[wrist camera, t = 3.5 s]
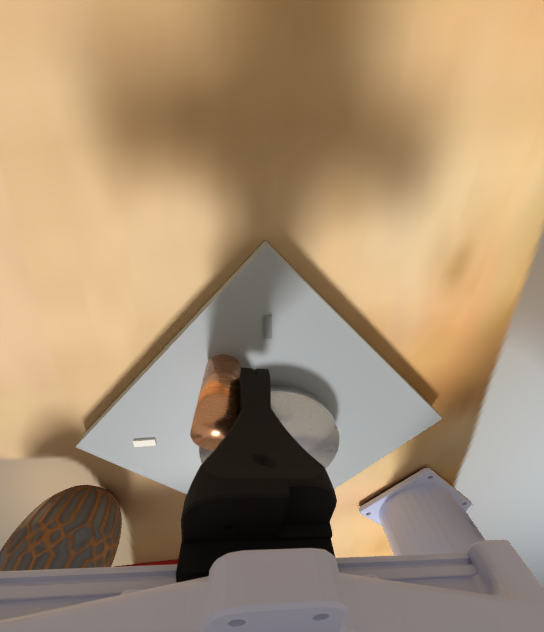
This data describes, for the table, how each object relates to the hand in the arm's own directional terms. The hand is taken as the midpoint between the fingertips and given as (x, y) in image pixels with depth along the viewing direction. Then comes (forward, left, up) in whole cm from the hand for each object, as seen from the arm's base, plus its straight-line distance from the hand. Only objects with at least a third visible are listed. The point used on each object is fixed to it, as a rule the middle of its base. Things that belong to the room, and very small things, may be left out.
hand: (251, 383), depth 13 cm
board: (-5, +4, -3) cm, 7 cm away
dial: (-3, +3, -1) cm, 5 cm away
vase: (0, +20, -3) cm, 20 cm away
